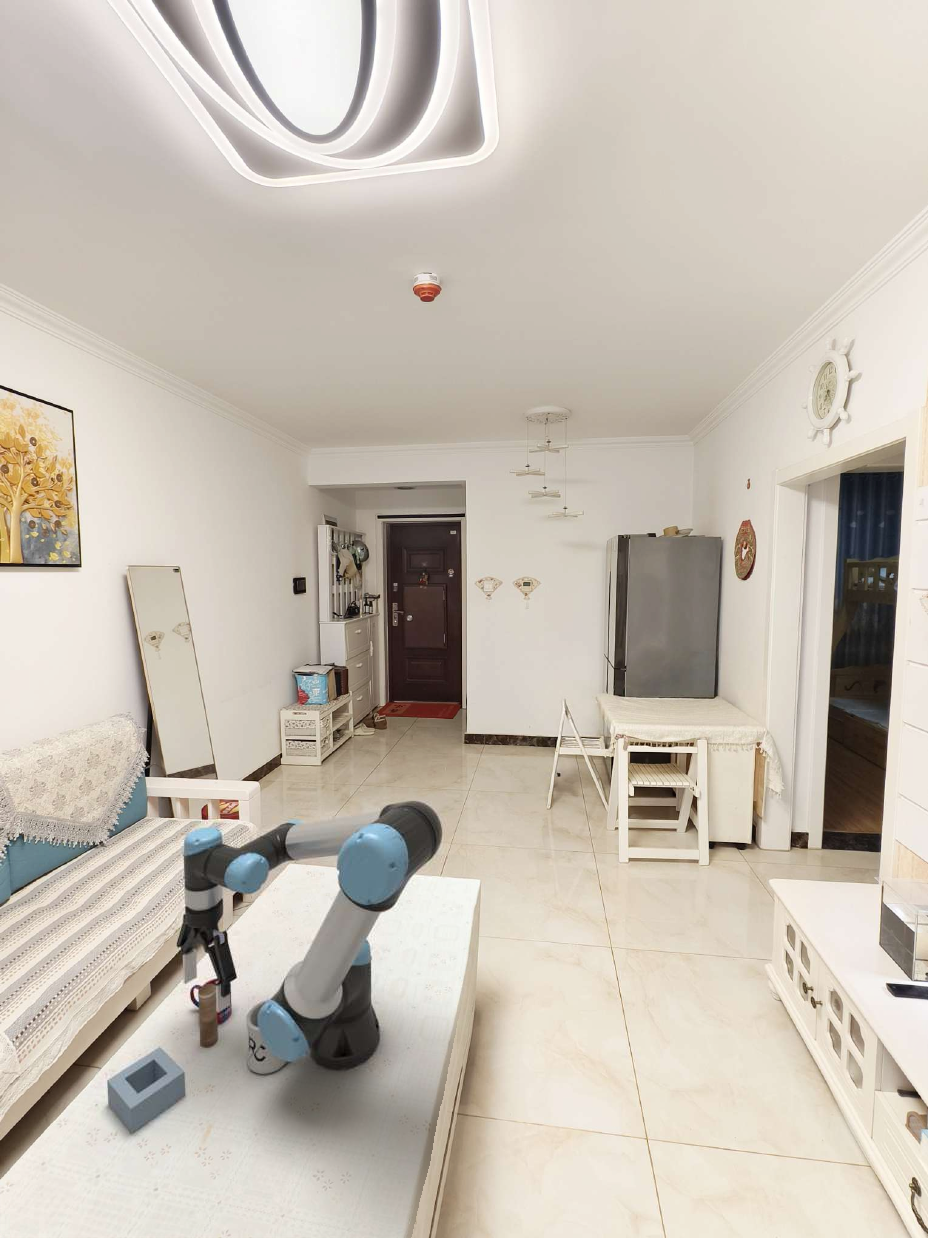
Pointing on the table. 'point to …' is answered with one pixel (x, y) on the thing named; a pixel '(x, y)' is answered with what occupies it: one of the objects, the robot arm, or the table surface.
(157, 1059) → the socket block
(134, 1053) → the table surface
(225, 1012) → the cup
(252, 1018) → the mug
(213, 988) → the dowel
